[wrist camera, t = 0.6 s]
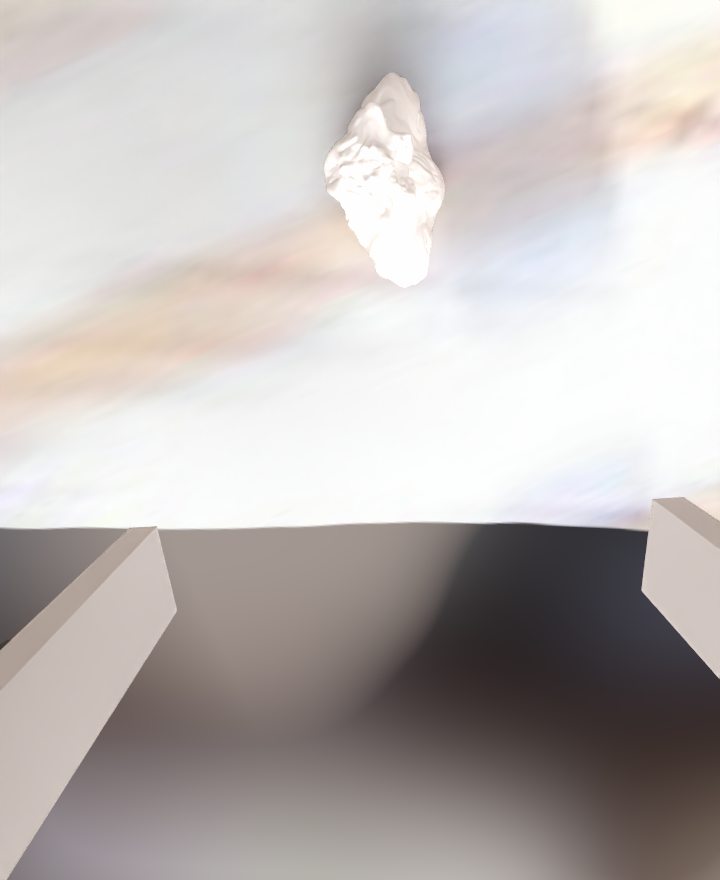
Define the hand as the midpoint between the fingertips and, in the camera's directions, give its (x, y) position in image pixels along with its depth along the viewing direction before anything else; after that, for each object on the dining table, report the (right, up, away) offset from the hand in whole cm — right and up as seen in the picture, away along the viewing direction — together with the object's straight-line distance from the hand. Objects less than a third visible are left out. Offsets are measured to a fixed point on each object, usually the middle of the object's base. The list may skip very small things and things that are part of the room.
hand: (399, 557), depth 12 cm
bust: (+1, +20, +20) cm, 29 cm away
